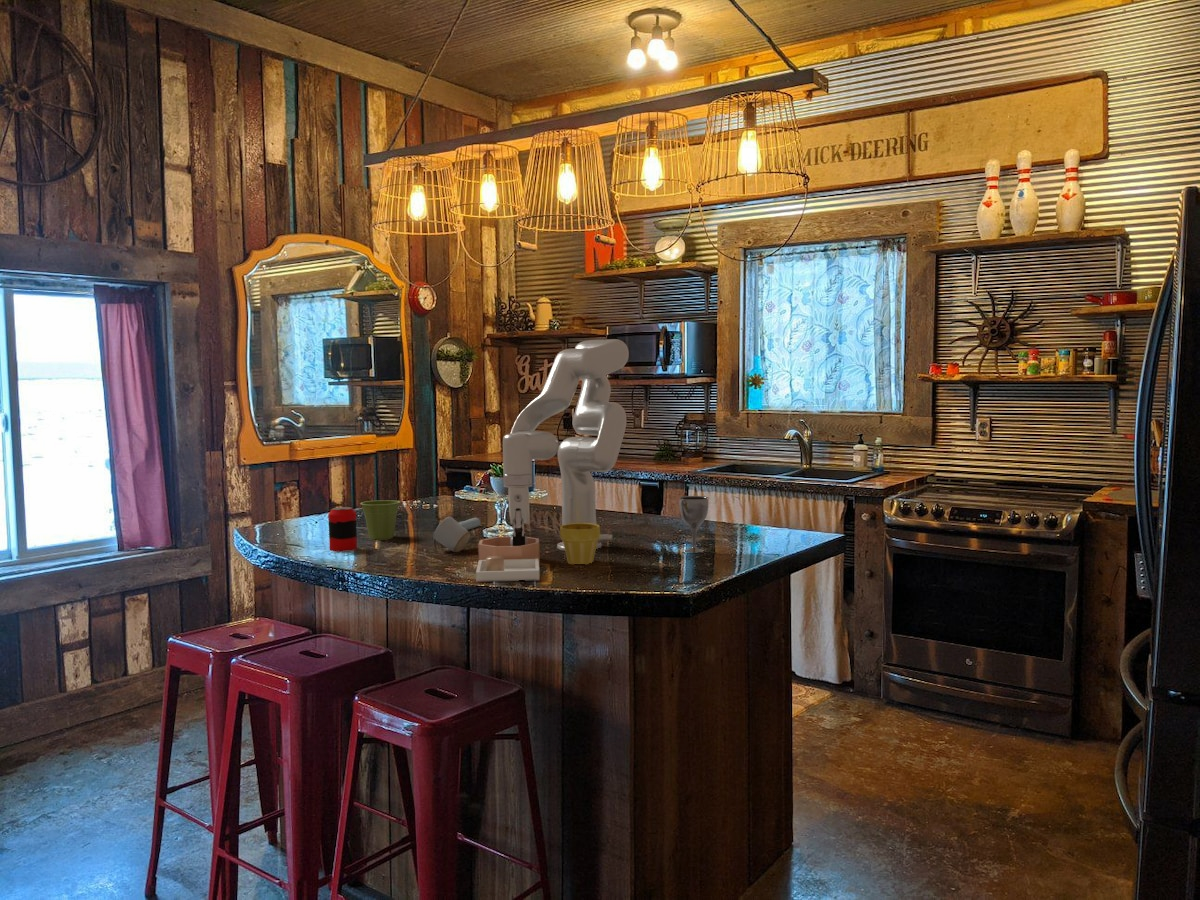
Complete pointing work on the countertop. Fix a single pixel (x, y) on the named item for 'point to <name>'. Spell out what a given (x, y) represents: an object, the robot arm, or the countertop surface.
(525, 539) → the slate pebble
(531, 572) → the parts tray
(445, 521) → the ceramic mug
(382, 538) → the plant pot
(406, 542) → the countertop surface
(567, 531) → the plant pot
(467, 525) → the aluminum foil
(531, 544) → the bowl
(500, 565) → the tan pebble
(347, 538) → the soda can
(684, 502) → the wine glass
